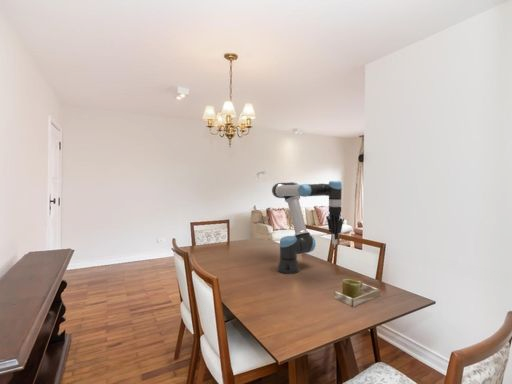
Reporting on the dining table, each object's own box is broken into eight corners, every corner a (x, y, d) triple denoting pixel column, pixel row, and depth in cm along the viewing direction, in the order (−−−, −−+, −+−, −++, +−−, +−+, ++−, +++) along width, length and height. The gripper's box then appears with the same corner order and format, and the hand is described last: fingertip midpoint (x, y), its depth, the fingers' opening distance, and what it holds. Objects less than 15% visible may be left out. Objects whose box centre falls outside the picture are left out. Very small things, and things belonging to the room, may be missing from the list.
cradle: (334, 298, 149) (334, 291, 149) (360, 288, 161) (360, 282, 161) (353, 306, 139) (353, 300, 139) (380, 295, 151) (380, 289, 151)
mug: (349, 298, 144) (348, 278, 147) (338, 297, 153) (338, 278, 156) (369, 300, 147) (368, 280, 150) (357, 298, 156) (357, 280, 159)
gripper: (322, 205, 174) (322, 242, 175) (338, 207, 163) (338, 247, 164) (331, 204, 178) (331, 241, 179) (347, 206, 167) (347, 245, 168)
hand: (334, 244), depth 172 cm, fingers closed
